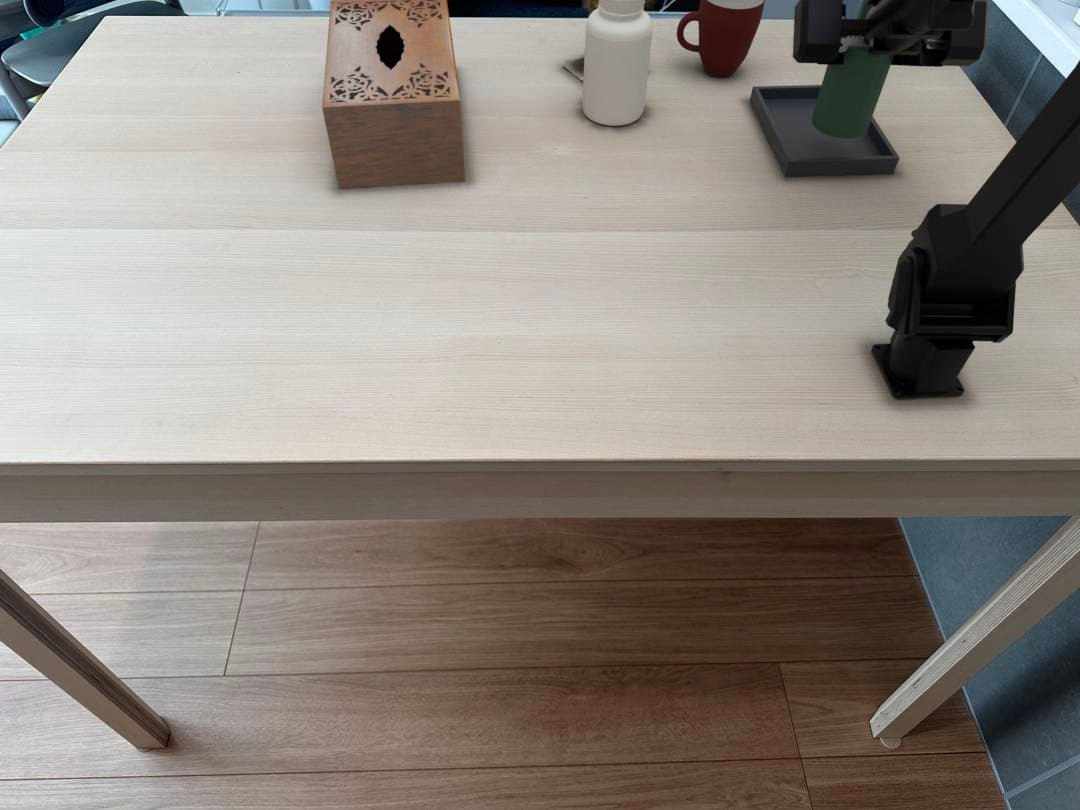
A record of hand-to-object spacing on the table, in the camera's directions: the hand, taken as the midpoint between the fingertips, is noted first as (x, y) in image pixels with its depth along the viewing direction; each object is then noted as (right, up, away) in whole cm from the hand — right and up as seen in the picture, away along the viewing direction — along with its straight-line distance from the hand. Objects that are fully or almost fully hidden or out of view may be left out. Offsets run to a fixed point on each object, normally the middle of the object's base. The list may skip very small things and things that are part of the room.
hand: (856, 59), depth 89 cm
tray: (0, -5, +11) cm, 12 cm away
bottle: (0, -6, +5) cm, 7 cm away
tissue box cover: (-53, -4, +11) cm, 54 cm away
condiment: (-27, +8, +21) cm, 35 cm away
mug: (-12, +8, +21) cm, 25 cm away
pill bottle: (-26, -1, +14) cm, 30 cm away
